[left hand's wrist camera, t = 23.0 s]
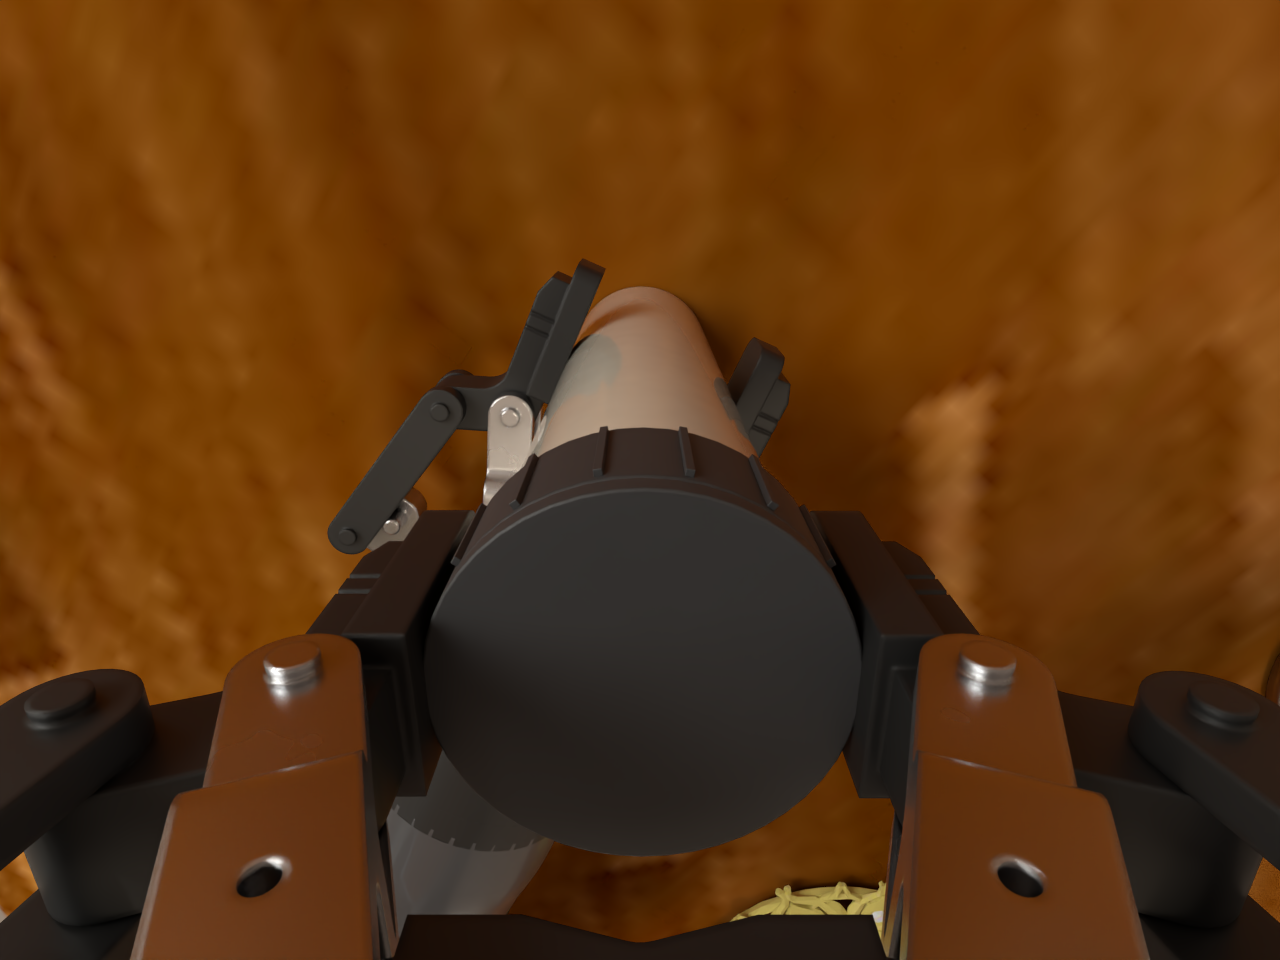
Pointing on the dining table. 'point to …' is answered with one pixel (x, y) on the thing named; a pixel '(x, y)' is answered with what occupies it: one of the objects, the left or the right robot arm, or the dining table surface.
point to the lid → (642, 647)
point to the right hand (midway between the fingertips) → (680, 309)
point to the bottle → (641, 376)
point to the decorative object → (823, 902)
